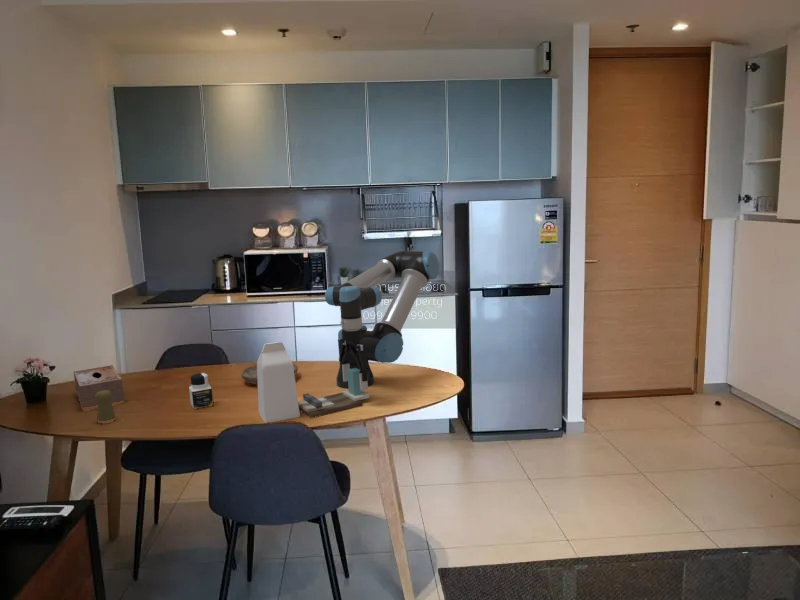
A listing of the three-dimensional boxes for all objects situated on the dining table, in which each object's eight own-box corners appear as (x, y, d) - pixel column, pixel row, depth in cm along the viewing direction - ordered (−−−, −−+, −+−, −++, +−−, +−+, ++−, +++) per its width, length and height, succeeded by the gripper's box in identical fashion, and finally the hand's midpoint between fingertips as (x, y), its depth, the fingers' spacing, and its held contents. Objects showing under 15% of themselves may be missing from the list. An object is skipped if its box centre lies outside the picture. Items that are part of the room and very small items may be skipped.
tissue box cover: (76, 395, 249) (73, 371, 247) (115, 388, 257) (112, 365, 255) (83, 412, 227) (79, 386, 226) (124, 403, 235) (121, 378, 233)
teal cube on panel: (342, 394, 229) (341, 368, 227) (356, 390, 232) (355, 365, 230) (355, 401, 221) (353, 374, 219) (369, 397, 224) (368, 371, 222)
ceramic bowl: (310, 376, 260) (309, 364, 260) (270, 392, 241) (269, 380, 240) (270, 370, 273) (269, 359, 272) (230, 384, 253) (229, 373, 252)
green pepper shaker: (101, 418, 219) (97, 389, 217) (118, 417, 219) (115, 387, 218) (94, 424, 213) (90, 394, 211) (112, 423, 213) (108, 393, 212)
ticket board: (295, 407, 221) (294, 395, 221) (344, 395, 232) (343, 384, 231) (310, 418, 210) (309, 405, 209) (362, 405, 220) (361, 393, 219)
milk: (265, 423, 207) (258, 348, 203) (258, 413, 217) (252, 341, 213) (299, 416, 212) (294, 343, 207) (292, 407, 222) (286, 337, 218)
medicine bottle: (193, 409, 224) (190, 378, 222) (190, 404, 230) (187, 373, 228) (213, 406, 227) (210, 374, 225) (210, 400, 233) (206, 370, 231)
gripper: (327, 325, 231) (331, 379, 234) (358, 336, 210) (362, 395, 213) (345, 322, 234) (348, 375, 238) (377, 332, 213) (380, 391, 217)
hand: (355, 385), depth 226 cm, fingers open, 13 cm apart
